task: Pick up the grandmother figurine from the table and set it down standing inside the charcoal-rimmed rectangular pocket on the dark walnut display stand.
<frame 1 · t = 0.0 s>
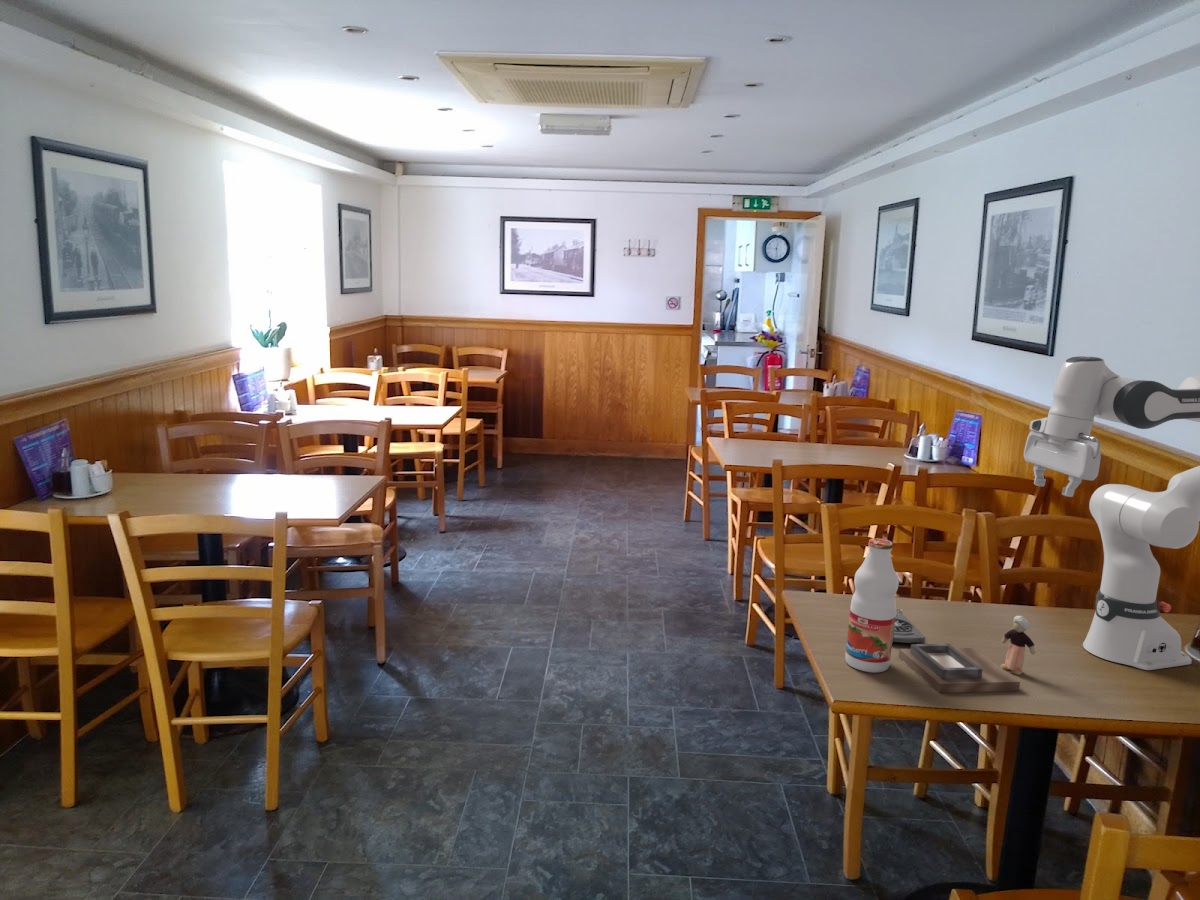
hand: (1052, 490, 191), 39 cm above the table, tool pointing down, fingers open, 8 cm apart
graphics card: (889, 635, 208), on the table
display stand: (956, 673, 186), on the table
fruit juice: (866, 665, 189), on the table
grandmother figurine: (1013, 672, 189), on the table
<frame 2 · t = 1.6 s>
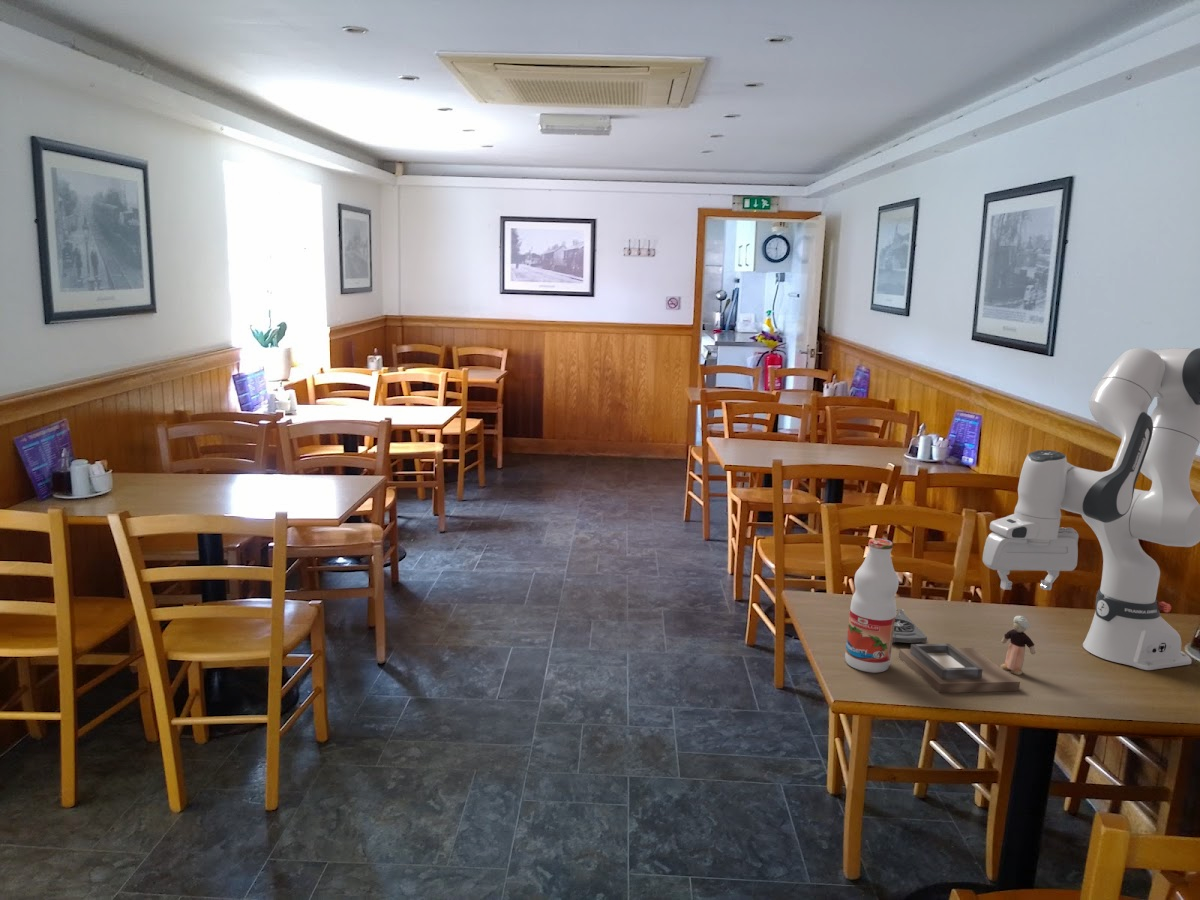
hand: (1025, 589, 186), 19 cm above the table, tool pointing down, fingers open, 8 cm apart
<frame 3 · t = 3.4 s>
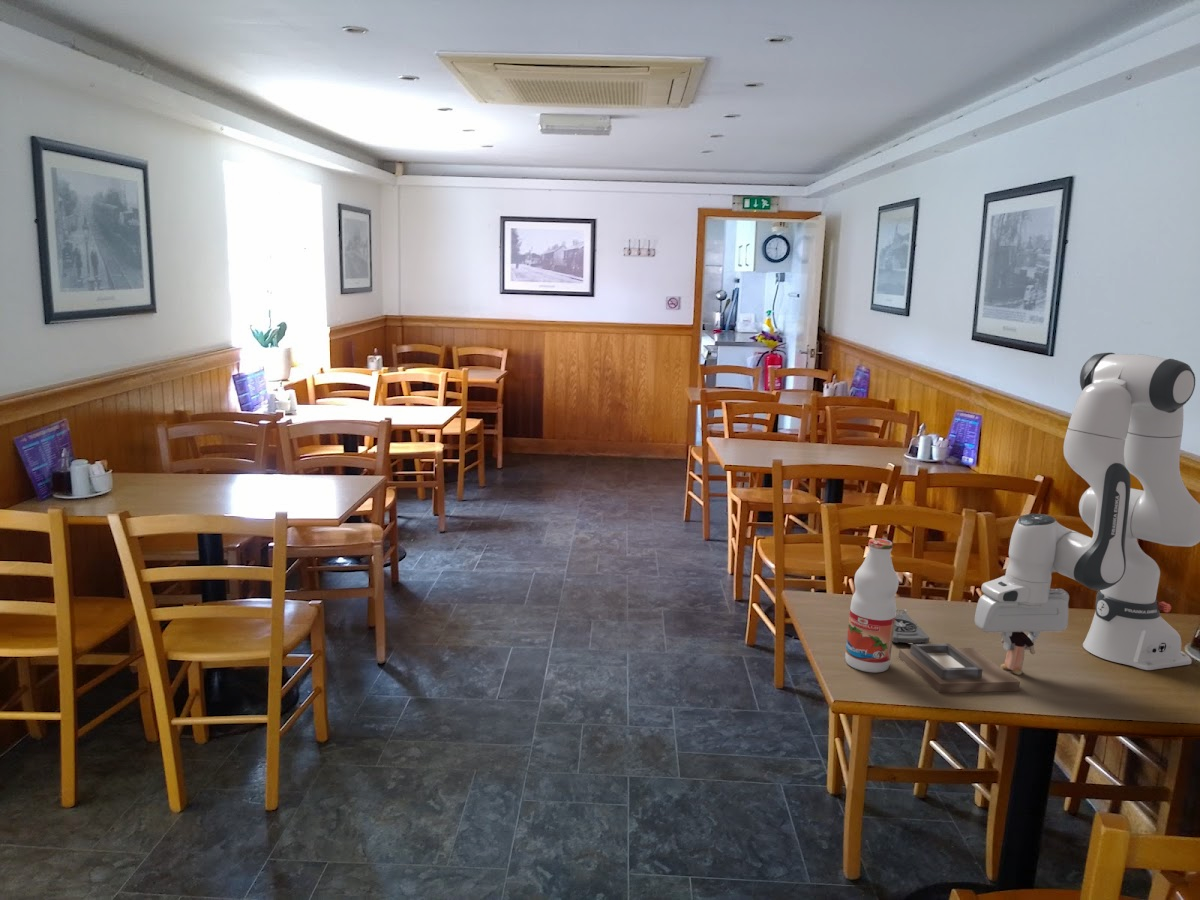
hand: (1017, 649, 188), 5 cm above the table, tool pointing down, fingers closed on grandmother figurine, 3 cm apart
grandmother figurine: (1013, 671, 189), on the table, touching gripper
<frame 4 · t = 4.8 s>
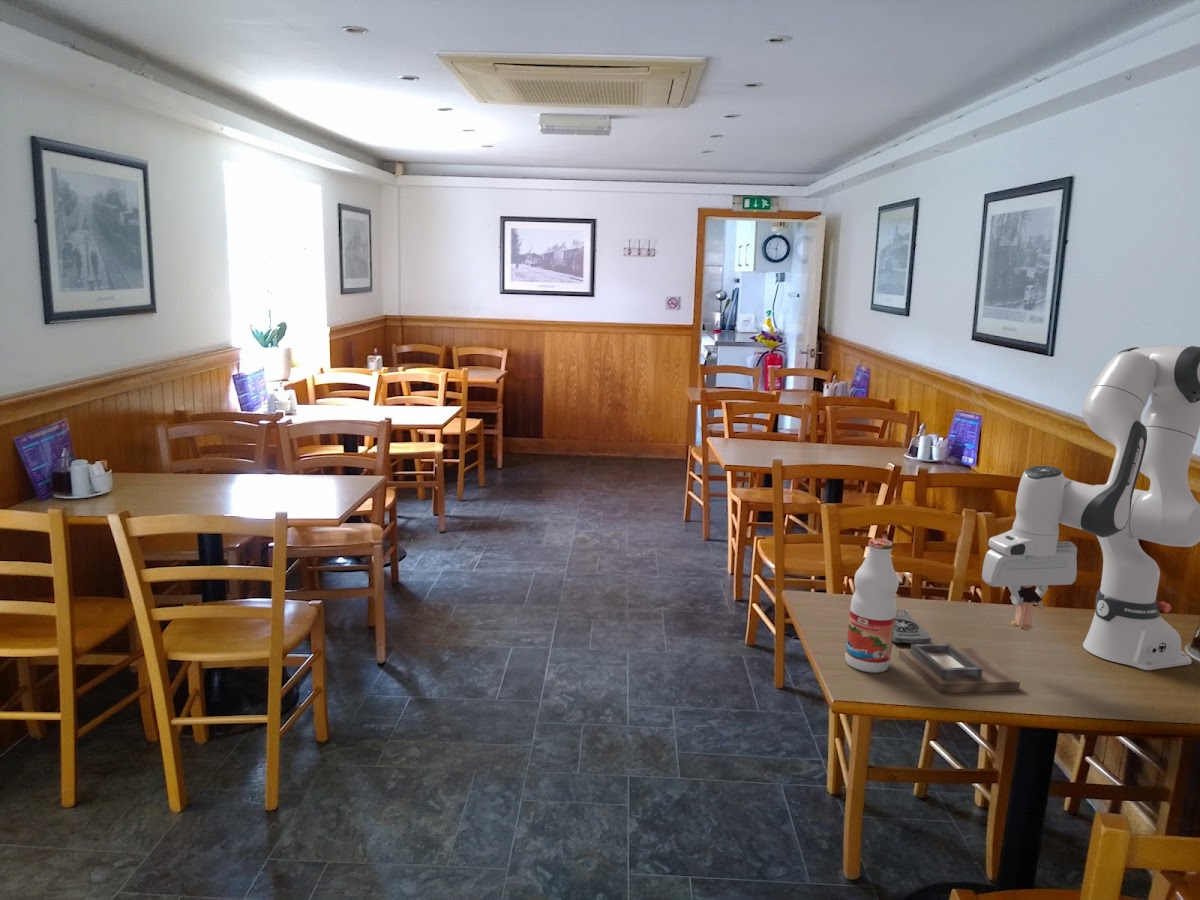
hand: (1025, 603, 187), 16 cm above the table, tool pointing down, fingers closed on grandmother figurine, 3 cm apart
grandmother figurine: (1023, 628, 188), point 10 cm above the table, touching gripper
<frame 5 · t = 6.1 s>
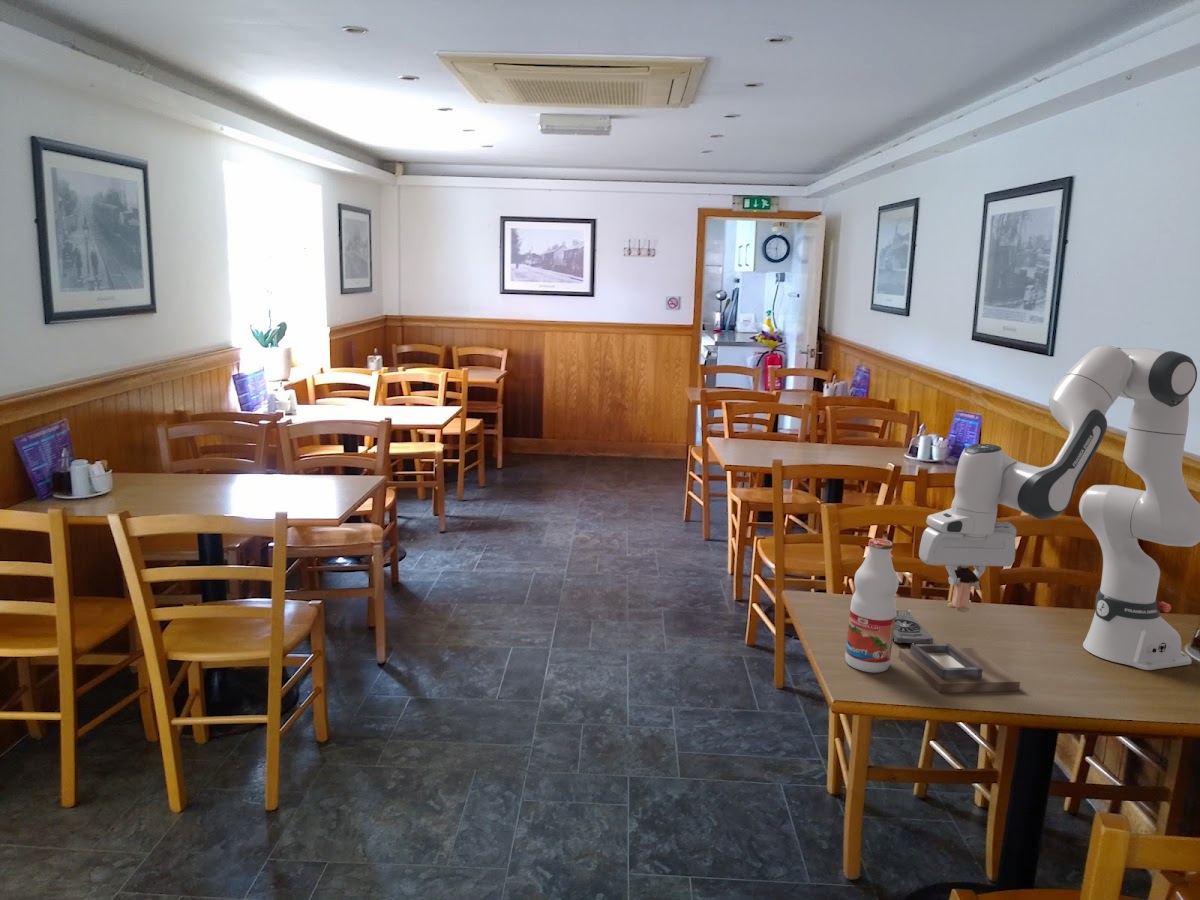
hand: (962, 584, 182), 20 cm above the table, tool pointing down, fingers closed on grandmother figurine, 3 cm apart
grandmother figurine: (960, 610, 183), point 15 cm above the table, touching gripper
when the fingers open (9 cm above the table, at t = 8.0 s): grandmother figurine stays where it is, resting on display stand.
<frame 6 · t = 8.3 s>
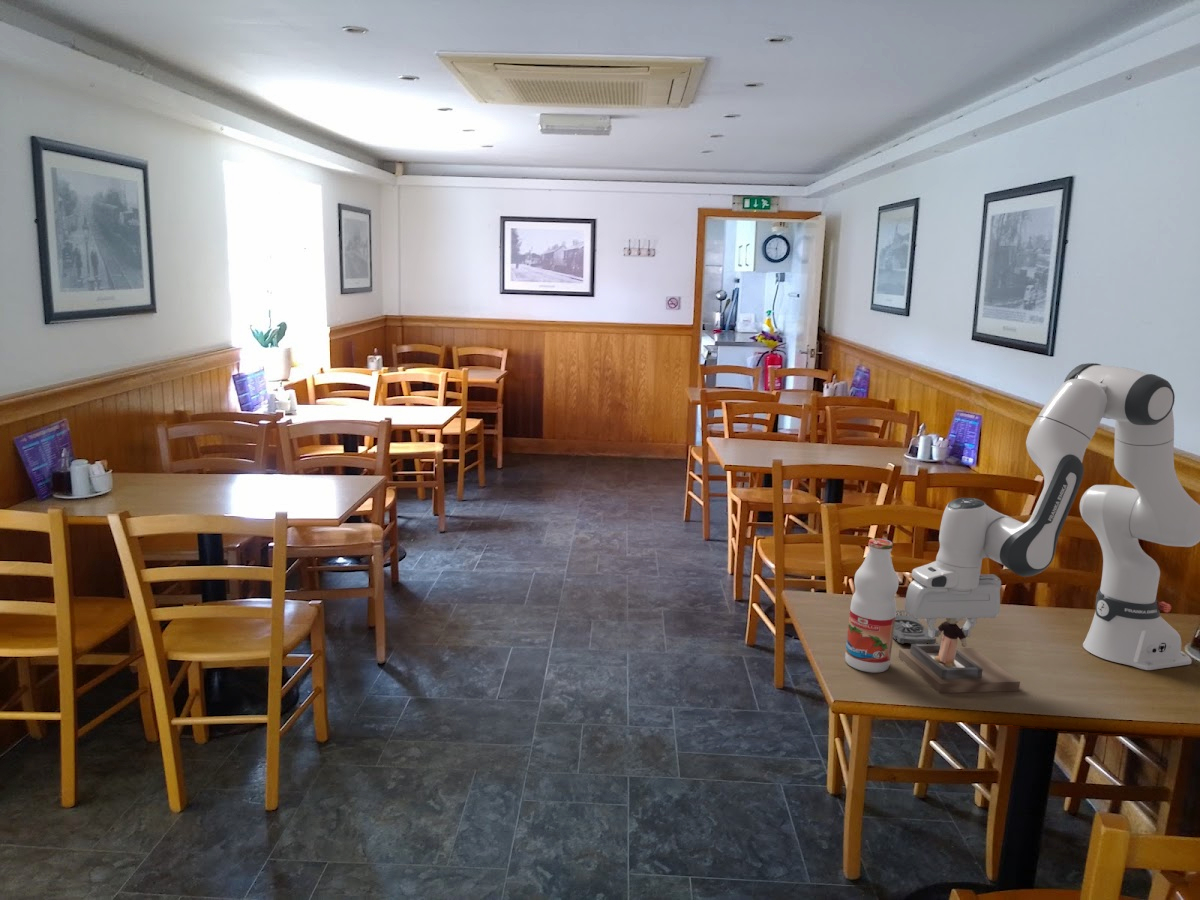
hand: (948, 636, 184), 9 cm above the table, tool pointing down, fingers open, 6 cm apart
grandmother figurine: (946, 664, 186), point 2 cm above the table, touching display stand
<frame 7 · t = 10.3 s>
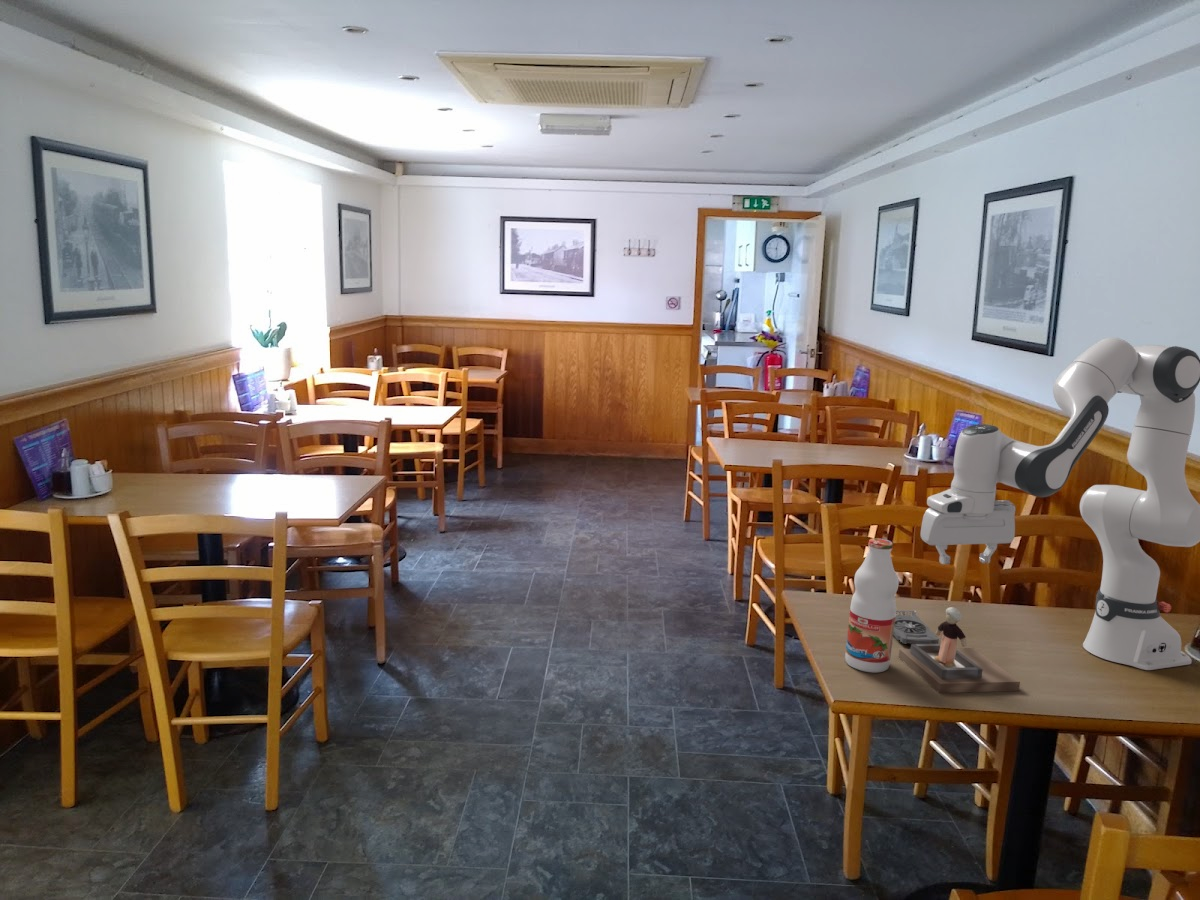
hand: (964, 562, 186), 24 cm above the table, tool pointing down, fingers open, 8 cm apart
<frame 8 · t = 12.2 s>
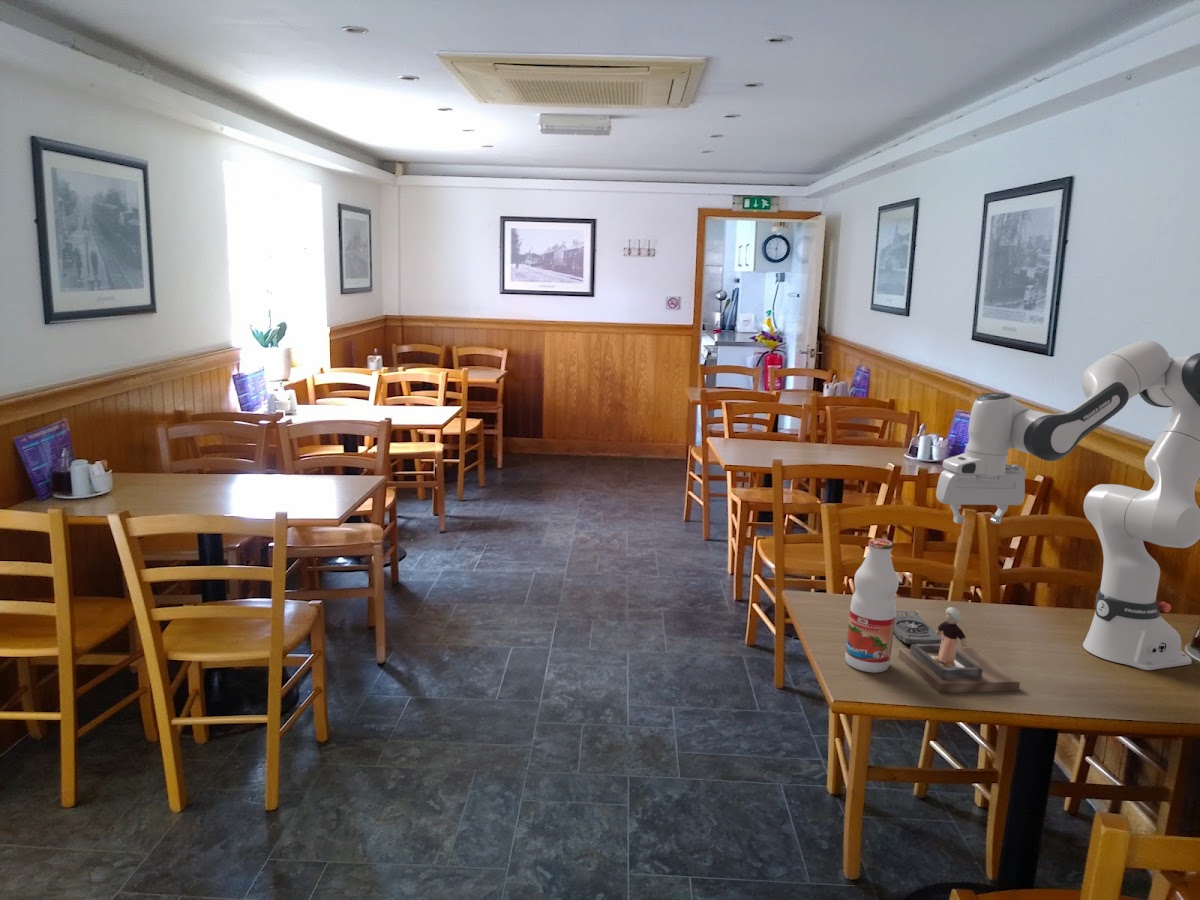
hand: (976, 522, 199), 29 cm above the table, tool pointing down, fingers open, 8 cm apart
at the end: grandmother figurine 0.4 cm from the target spot, point 2.1 cm above the table; grandmother figurine tilted 0°; the gripper is holding nothing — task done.
